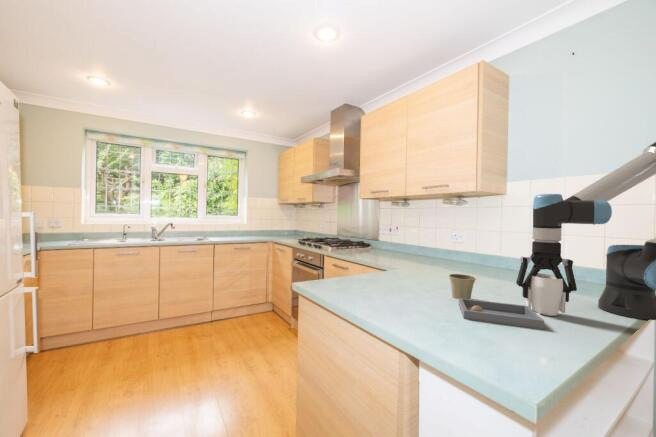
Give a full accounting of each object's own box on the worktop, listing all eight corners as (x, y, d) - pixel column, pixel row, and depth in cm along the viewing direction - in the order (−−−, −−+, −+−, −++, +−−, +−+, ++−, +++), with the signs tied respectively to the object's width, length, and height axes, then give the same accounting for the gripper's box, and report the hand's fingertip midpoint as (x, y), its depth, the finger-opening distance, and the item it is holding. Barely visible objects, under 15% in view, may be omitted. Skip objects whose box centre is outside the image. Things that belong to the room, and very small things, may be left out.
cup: (549, 308, 97) (550, 273, 97) (569, 318, 88) (570, 279, 88) (522, 307, 98) (522, 272, 97) (538, 316, 89) (539, 278, 88)
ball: (482, 316, 86) (482, 304, 86) (484, 320, 83) (484, 308, 83) (469, 314, 88) (470, 303, 88) (471, 318, 84) (471, 306, 84)
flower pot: (480, 303, 102) (481, 279, 101) (454, 302, 102) (454, 278, 102) (467, 296, 111) (468, 274, 111) (443, 295, 111) (444, 273, 111)
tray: (526, 315, 90) (526, 305, 90) (543, 331, 77) (544, 320, 77) (458, 306, 97) (458, 297, 97) (463, 320, 84) (463, 310, 84)
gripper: (580, 241, 92) (579, 310, 93) (506, 238, 100) (504, 302, 100) (593, 243, 85) (591, 317, 86) (512, 240, 92) (510, 309, 93)
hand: (544, 309), depth 93 cm, fingers closed on cup, 9 cm apart
